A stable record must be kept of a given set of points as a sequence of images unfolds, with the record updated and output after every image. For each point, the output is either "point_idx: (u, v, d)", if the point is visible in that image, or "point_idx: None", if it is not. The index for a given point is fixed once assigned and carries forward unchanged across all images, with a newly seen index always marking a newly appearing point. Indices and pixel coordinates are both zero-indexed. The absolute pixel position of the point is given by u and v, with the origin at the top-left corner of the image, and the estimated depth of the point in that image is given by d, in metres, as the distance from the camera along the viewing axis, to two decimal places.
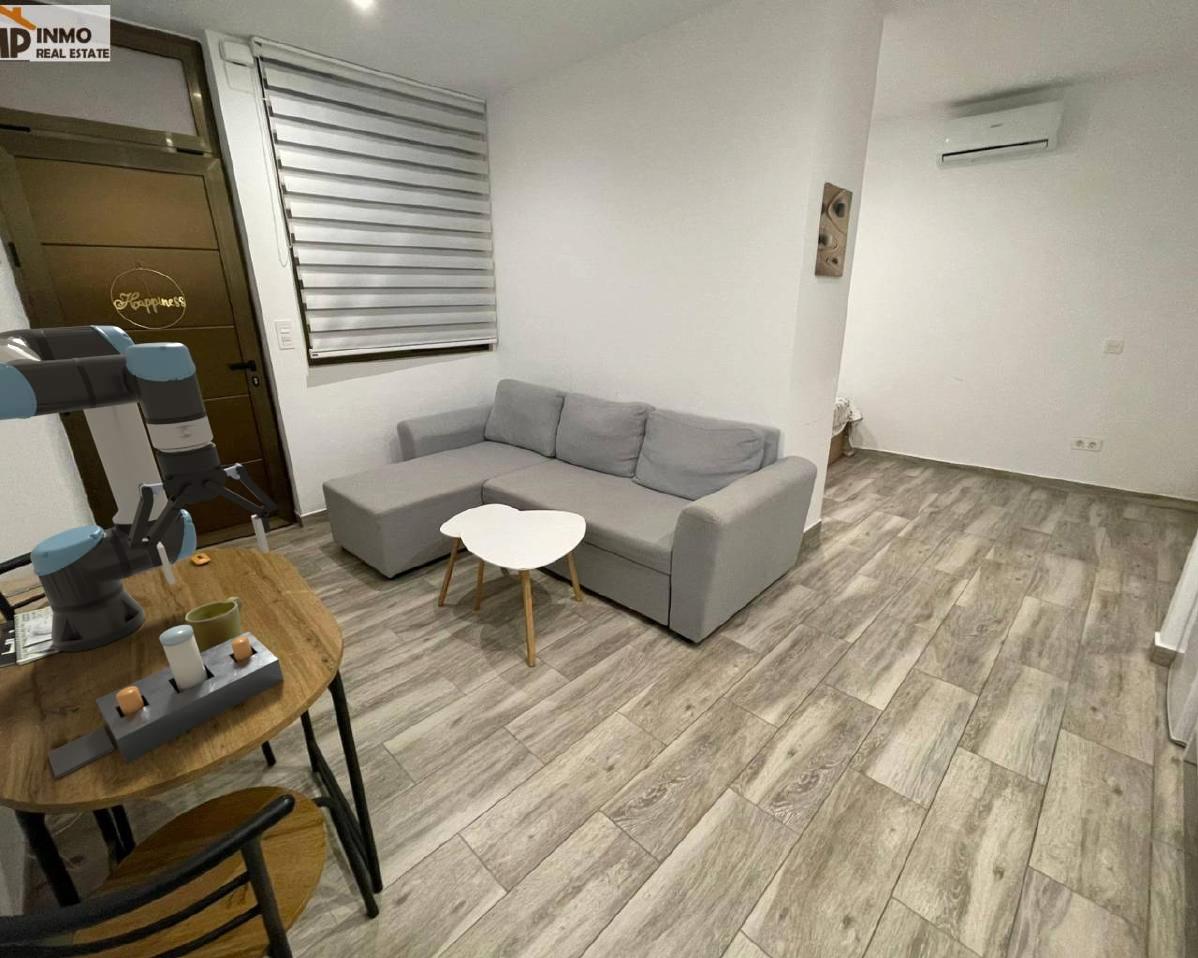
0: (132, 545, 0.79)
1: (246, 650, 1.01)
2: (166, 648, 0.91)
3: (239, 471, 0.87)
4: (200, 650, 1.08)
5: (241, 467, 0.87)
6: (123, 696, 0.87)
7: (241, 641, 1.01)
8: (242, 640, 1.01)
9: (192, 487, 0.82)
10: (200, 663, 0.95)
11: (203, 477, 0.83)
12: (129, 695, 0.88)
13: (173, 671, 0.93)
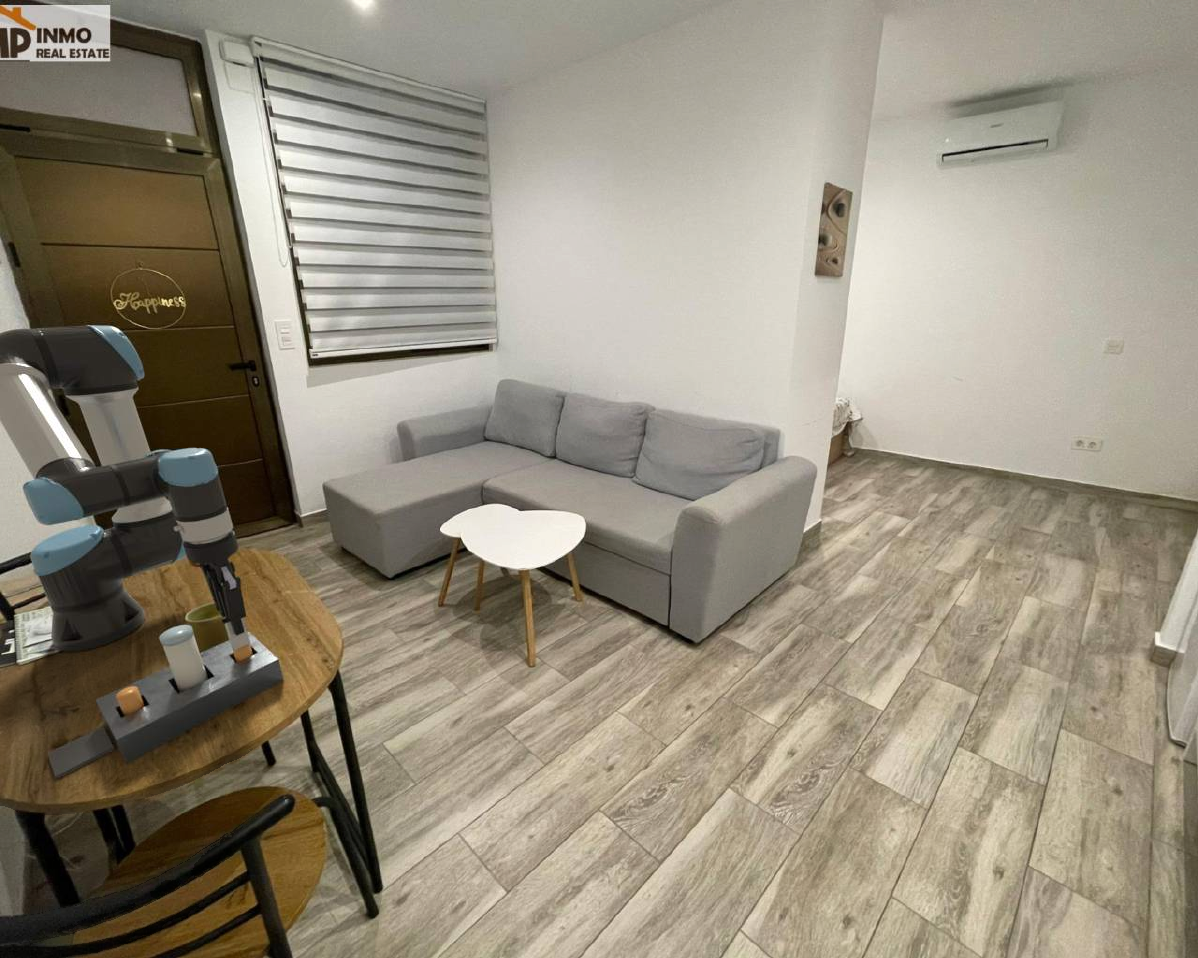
0: None
1: (248, 655, 1.01)
2: (166, 648, 0.91)
3: (222, 584, 0.92)
4: (200, 650, 1.08)
5: (223, 584, 0.91)
6: (123, 696, 0.87)
7: None
8: None
9: (202, 568, 0.94)
10: (200, 663, 0.95)
11: None
12: (129, 695, 0.88)
13: (173, 671, 0.93)
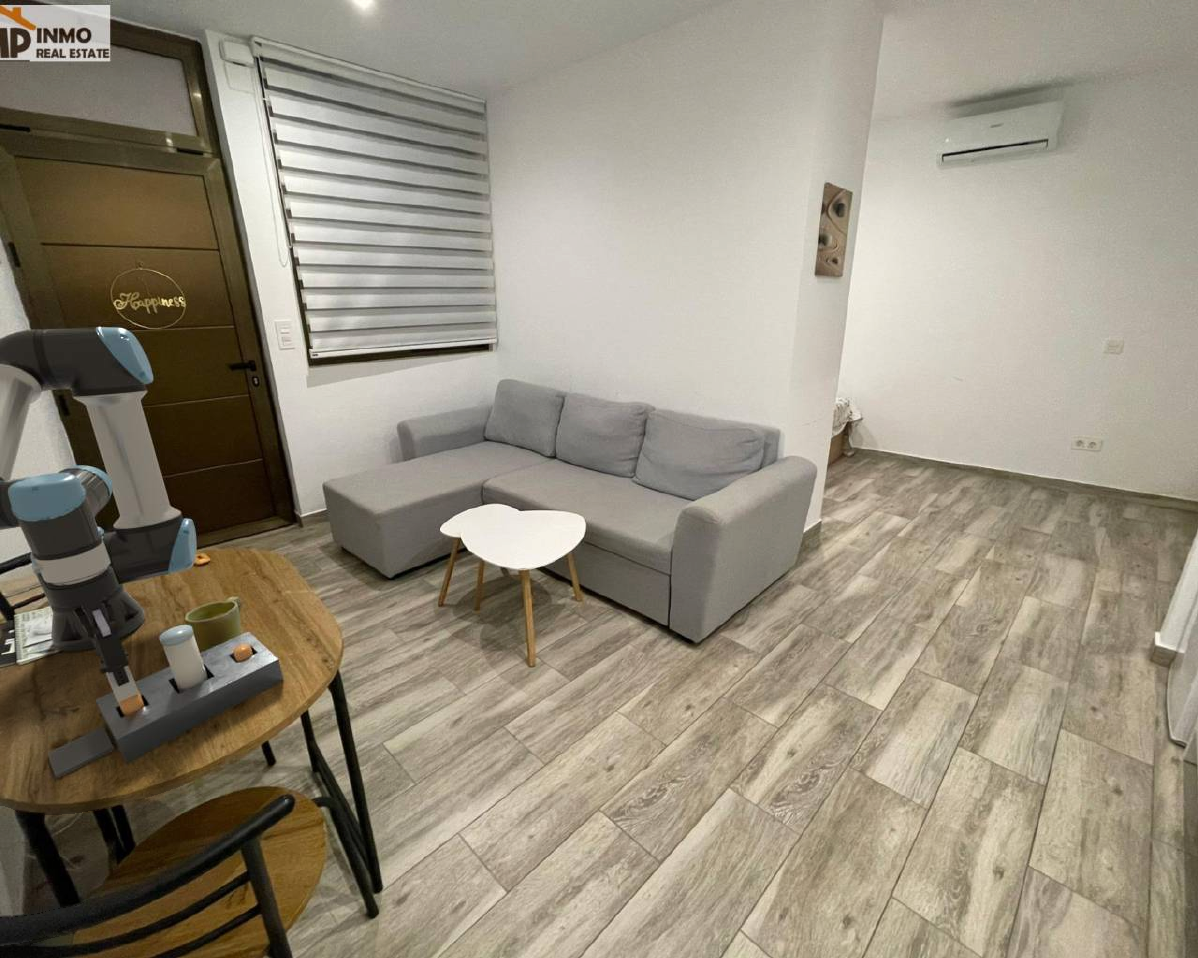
0: None
1: None
2: (166, 648, 0.91)
3: (93, 631, 0.79)
4: (200, 650, 1.08)
5: (93, 631, 0.78)
6: (125, 700, 0.88)
7: (243, 648, 1.02)
8: (244, 648, 1.02)
9: (74, 610, 0.82)
10: (200, 663, 0.95)
11: None
12: (131, 699, 0.88)
13: (173, 671, 0.93)
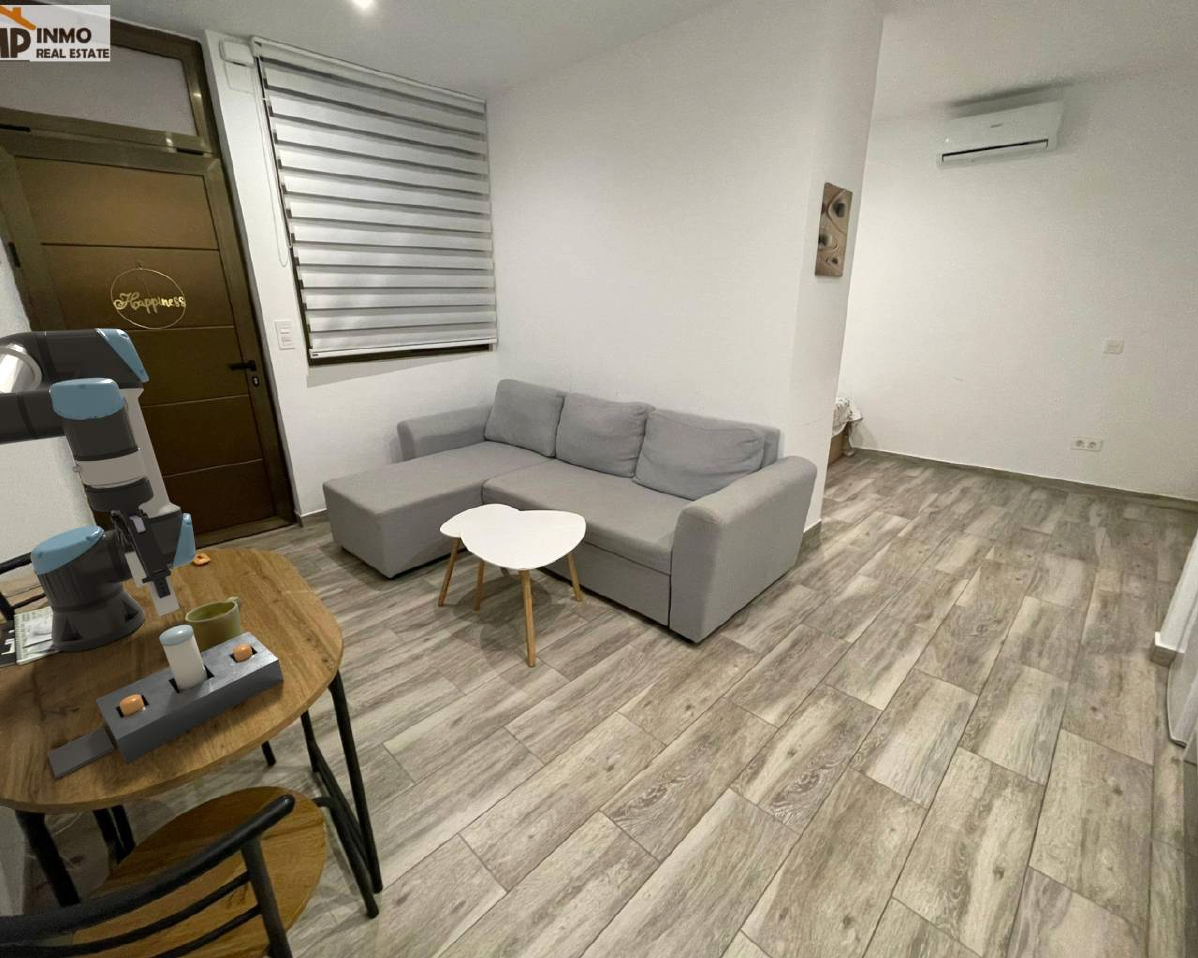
0: (118, 540, 0.91)
1: None
2: (166, 648, 0.91)
3: None
4: (200, 650, 1.08)
5: (126, 522, 0.79)
6: (126, 704, 0.88)
7: (243, 648, 1.02)
8: (244, 648, 1.02)
9: (112, 519, 0.83)
10: (200, 663, 0.95)
11: (119, 515, 0.82)
12: (133, 704, 0.88)
13: (173, 671, 0.93)
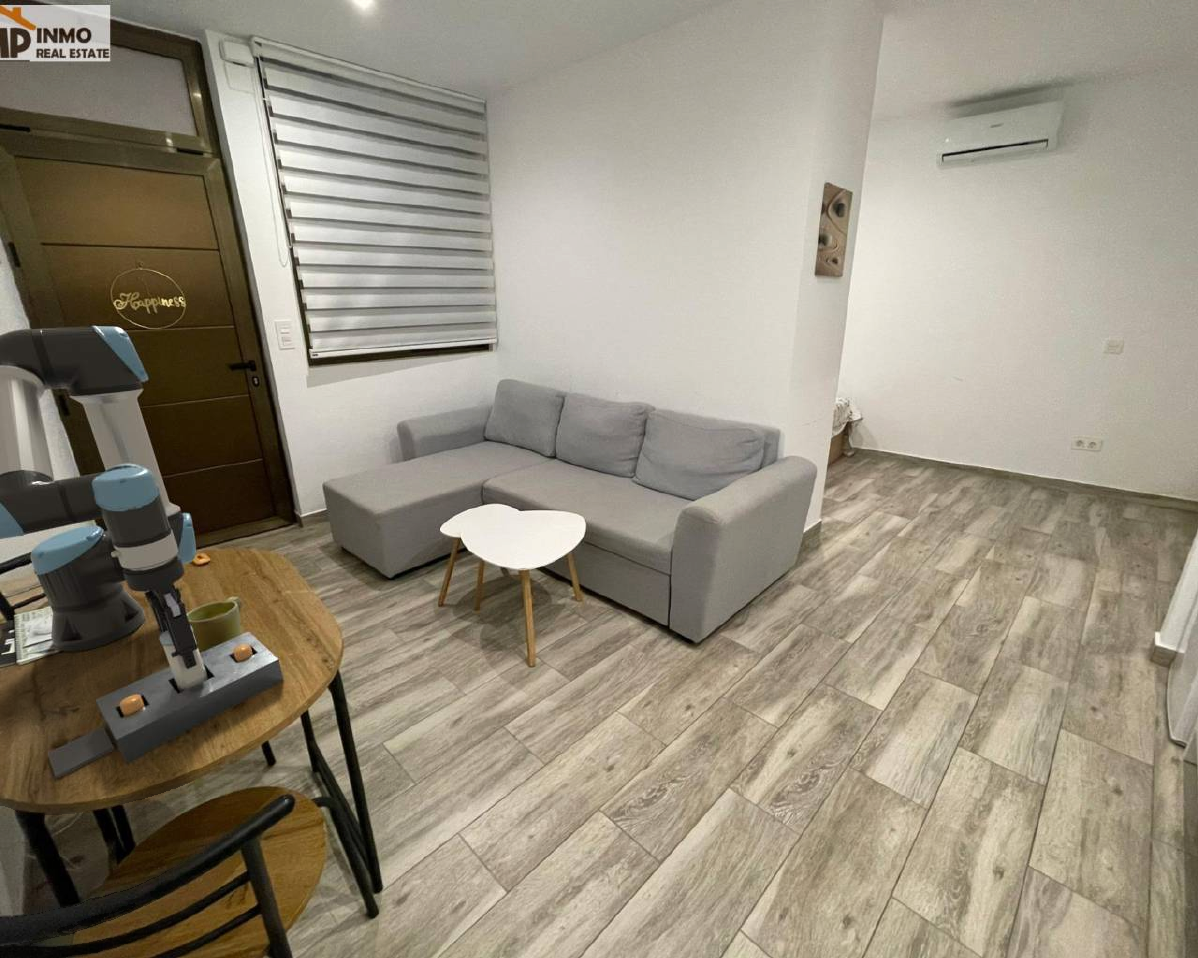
0: (159, 629, 0.95)
1: None
2: (166, 648, 0.91)
3: (165, 611, 0.85)
4: (200, 650, 1.08)
5: (165, 610, 0.85)
6: (126, 704, 0.88)
7: (243, 648, 1.02)
8: (244, 648, 1.02)
9: (145, 595, 0.88)
10: (200, 663, 0.95)
11: None
12: (133, 704, 0.88)
13: (173, 671, 0.93)
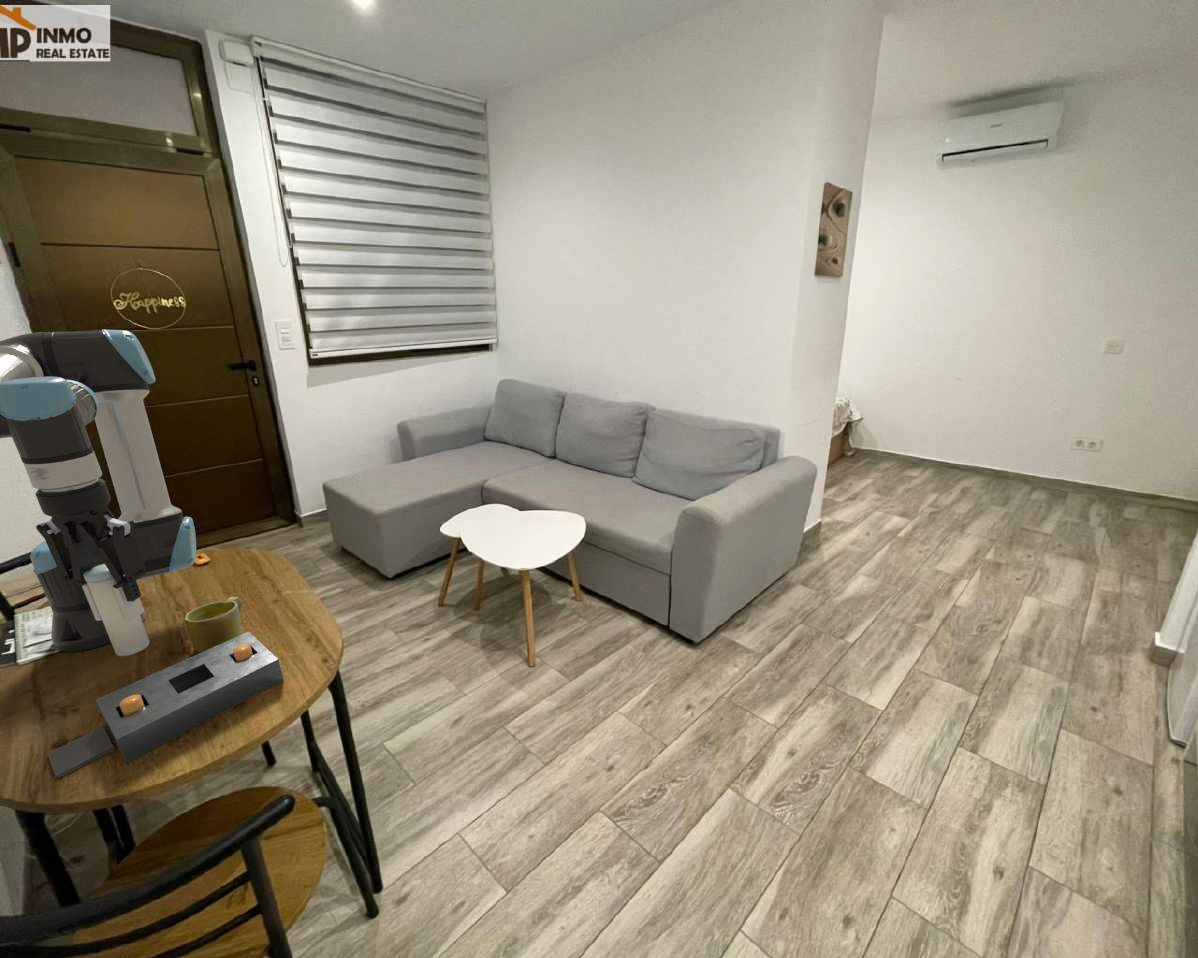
0: (63, 577, 0.82)
1: None
2: (99, 585, 0.81)
3: (113, 530, 0.79)
4: (200, 650, 1.08)
5: (117, 528, 0.79)
6: (126, 704, 0.88)
7: (243, 648, 1.02)
8: (244, 648, 1.02)
9: (64, 526, 0.78)
10: None
11: (81, 513, 0.78)
12: (133, 704, 0.88)
13: (108, 613, 0.83)
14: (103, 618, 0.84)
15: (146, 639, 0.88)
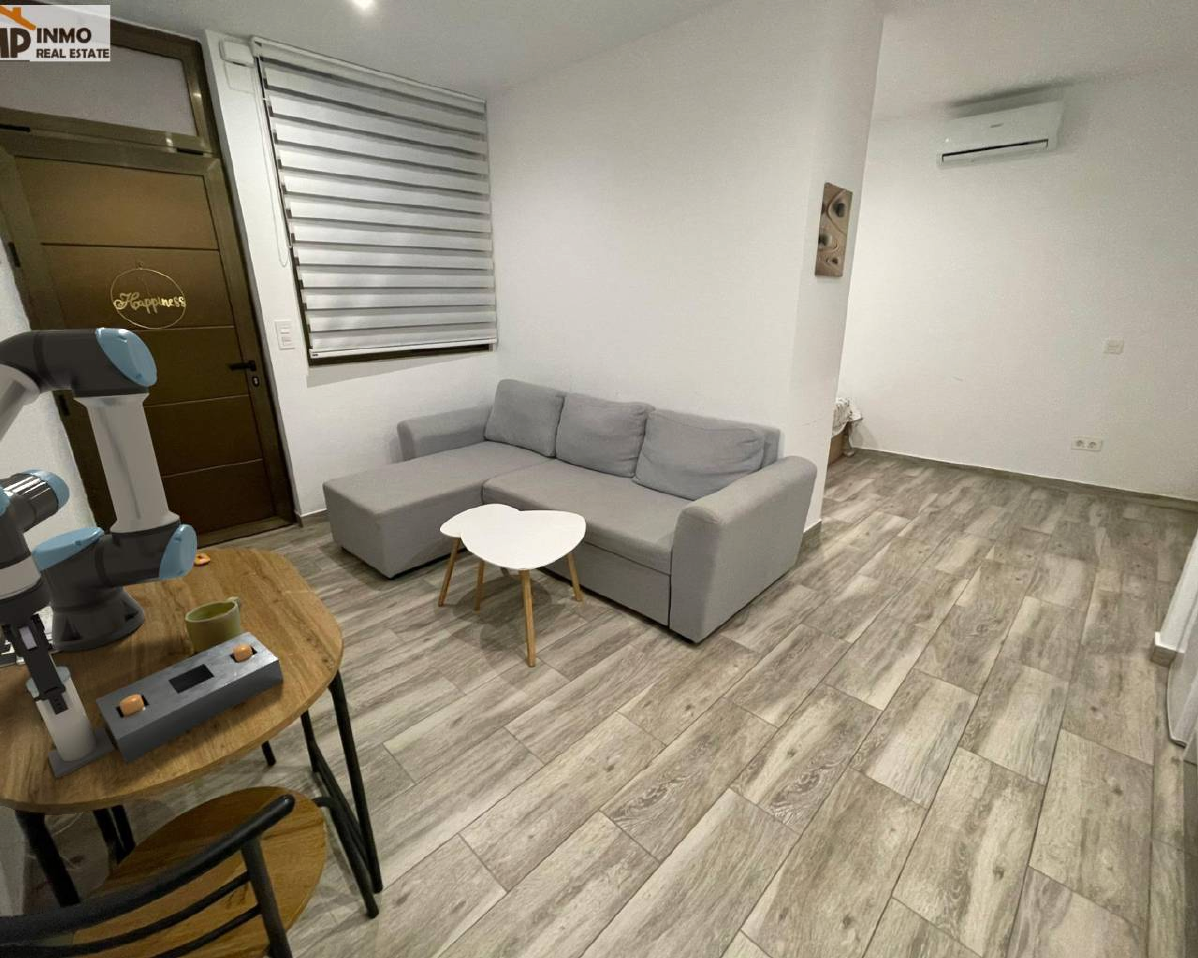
0: None
1: None
2: (33, 694, 0.80)
3: None
4: (200, 650, 1.08)
5: (14, 640, 0.73)
6: (126, 704, 0.88)
7: (243, 648, 1.02)
8: (244, 648, 1.02)
9: (2, 628, 0.77)
10: (79, 709, 0.84)
11: None
12: (133, 704, 0.88)
13: (45, 720, 0.81)
14: None
15: (87, 747, 0.85)
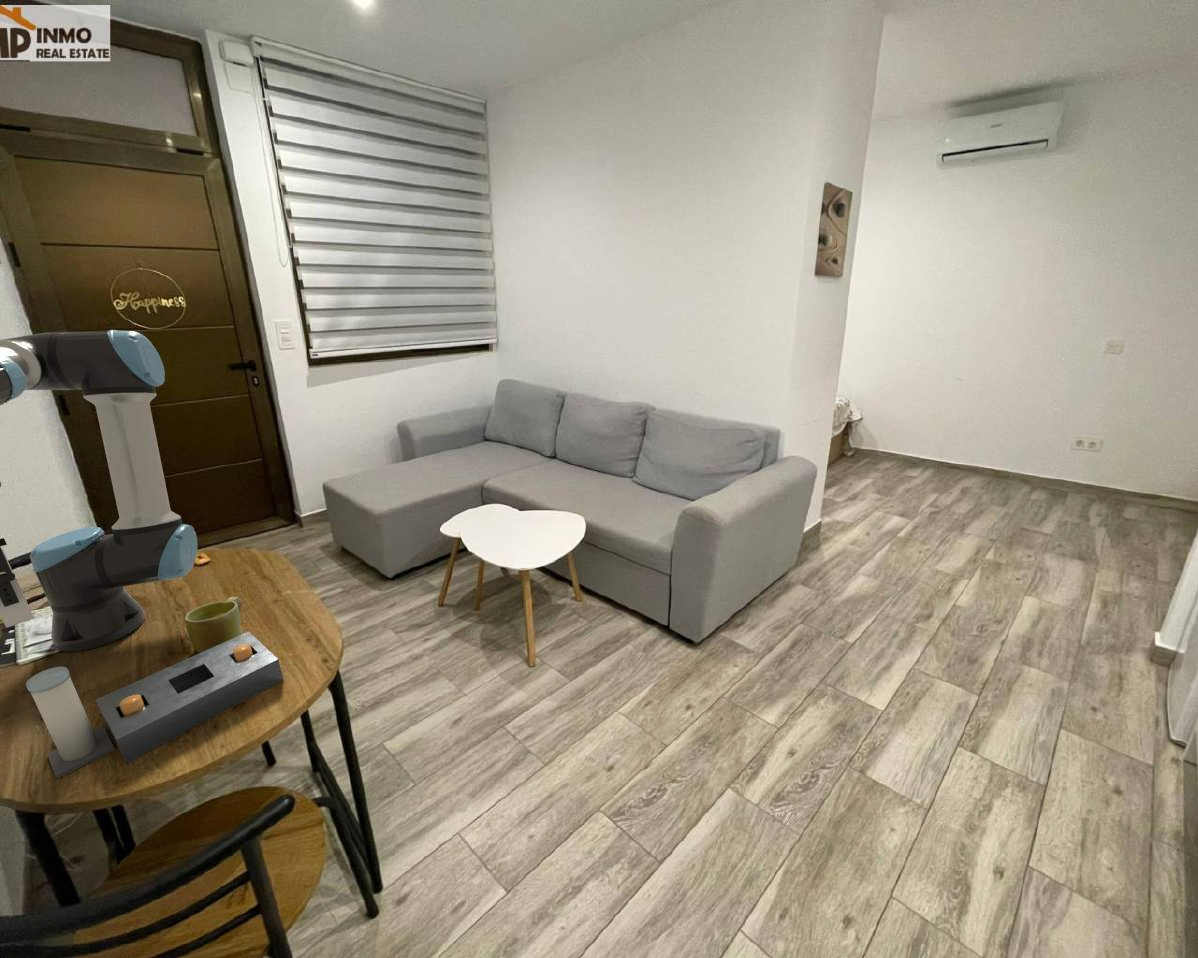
0: None
1: None
2: (33, 695, 0.80)
3: None
4: (200, 650, 1.08)
5: None
6: (126, 704, 0.88)
7: (243, 648, 1.02)
8: (244, 648, 1.02)
9: None
10: (79, 709, 0.84)
11: None
12: (133, 704, 0.88)
13: (44, 720, 0.81)
14: None
15: (87, 747, 0.85)
